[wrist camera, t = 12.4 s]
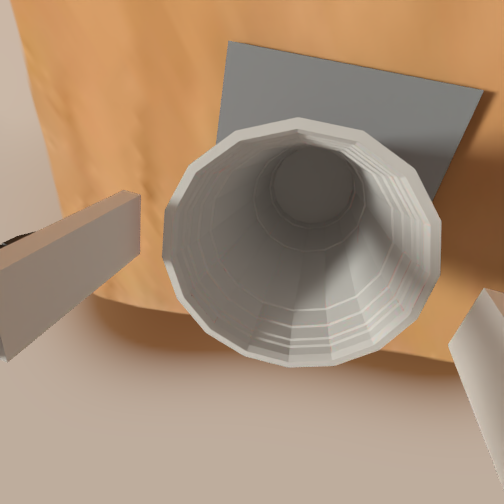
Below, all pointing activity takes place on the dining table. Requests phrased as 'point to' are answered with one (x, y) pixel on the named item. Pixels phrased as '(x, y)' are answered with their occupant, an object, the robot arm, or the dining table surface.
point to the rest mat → (348, 104)
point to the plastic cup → (302, 243)
